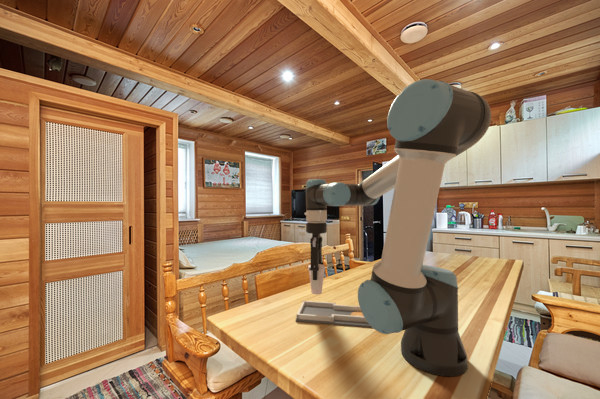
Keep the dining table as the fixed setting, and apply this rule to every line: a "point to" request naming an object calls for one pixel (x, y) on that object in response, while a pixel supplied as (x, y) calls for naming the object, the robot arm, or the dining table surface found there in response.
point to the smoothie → (321, 275)
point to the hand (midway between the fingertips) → (316, 285)
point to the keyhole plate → (331, 314)
